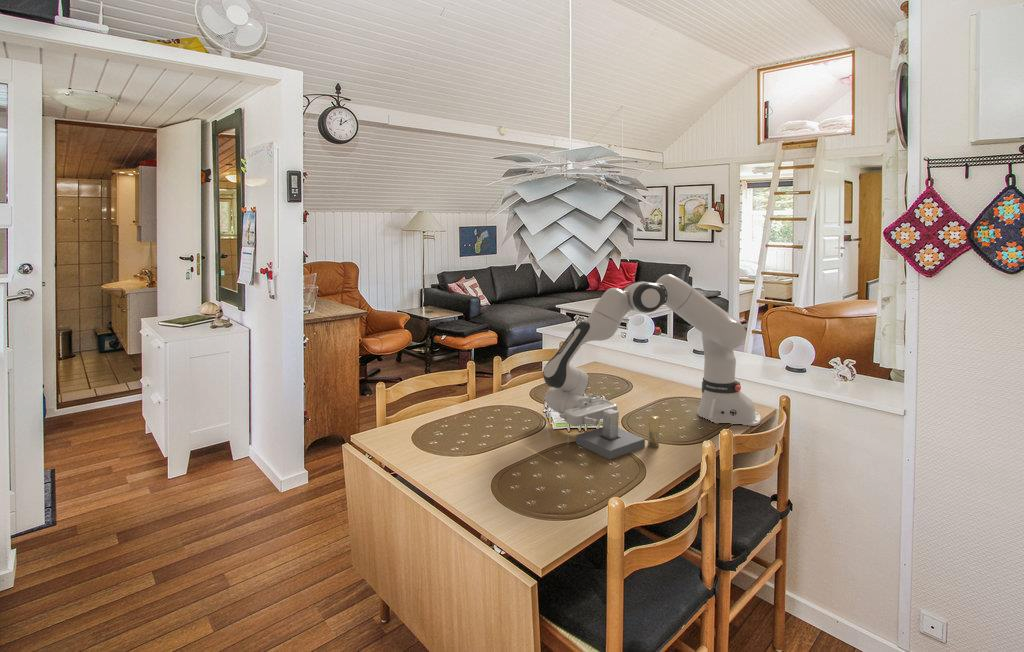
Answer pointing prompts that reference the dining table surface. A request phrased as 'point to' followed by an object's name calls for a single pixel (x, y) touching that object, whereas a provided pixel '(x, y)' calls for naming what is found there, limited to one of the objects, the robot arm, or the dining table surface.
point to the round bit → (653, 431)
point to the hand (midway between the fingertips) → (607, 419)
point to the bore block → (610, 443)
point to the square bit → (610, 424)
